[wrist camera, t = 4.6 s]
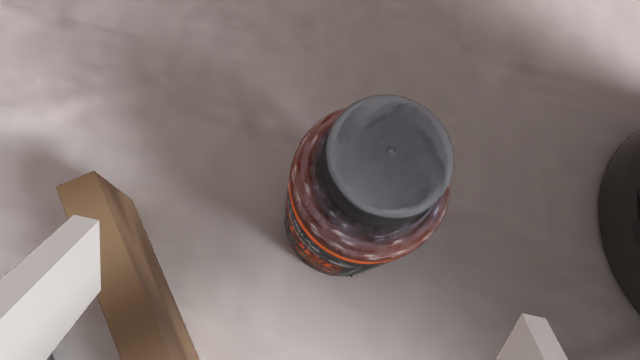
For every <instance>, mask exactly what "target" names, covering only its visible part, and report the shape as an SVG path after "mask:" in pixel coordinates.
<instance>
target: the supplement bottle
mask: <svg viewBox="0 0 640 360" xmlns="http://www.w3.org/2000/svg"><path fill="white" fill-rule="evenodd" d="M453 166H454V159H453V148H452V145H451V142H450V139H449V136H448V134H447V132H446V130H445V128H444V127H443V125H442V124H441V123H440V121H439V120H438V119H437V118H436V117H435V116H434V115H433V114H432V112H430V111H429V110H428V109H427V108H425V107H423V106H421V105H420V104H418V103H416V102H414V101H412V100H410V99H408V98H404V97H398V96H393V95H379V96H378V95H376V96H371V97H367V98H364V99H361V100H359V101H357V102H355V103H353V104H352V105H350V106H349V107H347V108H344V109H341V110H338V111H335V112H334V113H331V114H329V115H328V116H326V117H324V118H323V119H321V120H320V121H319V122H317V123H316V124H315V125H314V126H313V127H312V128H311V129H310V130H309V131H308V132H307V134H306V135H305V136H304V138H303V139H302V141H301V142H300V144H299V147H298V149H297V151H296V153H295V155H294V158H293V161H292V165H291V170H290V177H289V185H288V192H287V201H286V210H285V226H286V232H287V236H288V239H289V241H290V243H291V246H292V247H293V249H294V250H295V252H296V254H297V255H298V256H299V257H300V258H301V259H302V261H303V262H305V263H306V264H307V265H309V266H310V267H312V268H313V269H315V270H317V271H319V272H322V273H325V274H328V275H333V276H351V277H352V275H355V274H359V273H362V272H365V271H368V270H370V269H373V268H375V267H378V266H380V265H383V264H386V263H388V262H391V261H393V260H396V259H398V258H400V257H402V256H405V255H407V254H409V253H411V252H412V251H414V250H415V249H417V248H418V247H419V246H421V245H422V244H423V243H424V242H425V241H427V240H428V239H429V237H430V236H431V235H432V234H433V233H434V232H435V230H436V229H437V227H438V225H439V224H440V222H441V221H442V219H443V216H444V214H445V211H446V208H447V204H448V199H449V194H450V181H451V178H452V173H453Z"/></svg>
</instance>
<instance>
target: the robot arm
mask: <svg viewBox="0 0 640 360" xmlns="http://www.w3.org/2000/svg"><path fill="white" fill-rule="evenodd" d="M599 217H600V227H601V233H602V238H603V242H604V246H605V249H606V253H607V256H608V258H609V261H610V264H611V266H612V268H613V271H614V273H615V275H616V277H617V279H618V281H619V283H620V285H621V286H622V288H623V290H624V291H625V293H626V295H627V296H628V297H629V299H630V300H631V302H632V303H633V305H634V306H635V307H636V309H637V310H638V311H639V312H640V130H639V131H637V132H636V133H634V134H633V135H632V136H630V137H629V138H628V139H627V140H626V141H625V142H624V143H623V144H622V145H621V146H620V147H619V149H618V150H617V151H616V153H615V154H614V156H613V157H612V159H611V161H610V163H609V165H608V167H607V169H606V172H605V175H604V178H603V182H602V186H601V192H600V202H599ZM100 290H101V273H100V230H99V220H96V219H91V218H87V217H82V216H78V215H73V216H72V217H71V218H69V219H68V220H67V221H66V222H65V223H64V224H63V225H62V226H60V227H59V228H58V229H57V230H56V231H55V232H54V233H53V234H51V235H50V236H49V237H48V238H47V239H46V240H45V241H44V242H42V243H41V244H40V245H39V246H38V247H37V248H36V249H35V250H33V251H32V252H31V253H30V254H29V255H28V256H27V257H26V258H24V259H23V260H22V261H21V262H20V263H19V264H18V265H17V266H15V267H14V268H13V269H12V270H11V271H10V272H9V273H8V274H6V275H5V276H4V277H3V278H2V279H1V280H0V360H46V359H47V358H48V357H49V356H50V354H51V353H52V352H53V351H54V349H55V348H56V347H57V345H58V344H59V343H60V342H61V340H62V339H63V338H64V336H65V335H66V334H67V333H68V331H69V330H70V329H71V328H72V326H73V325H74V324H75V322H76V321H77V320H78V319H79V317H80V316H81V315H82V313H83V312H84V311H85V310H86V308H87V307H88V306H89V304H90V303H91V302H92V301H93V299H94V298H95V297H96V296H97V294H98V293H99V292H100ZM495 360H568V358H567V357H566V355H565V353H564V351H563V349H562V347H561V345H560V344H559V342H558V340H557V338H556V336H555V334H554V332H553V331H552V329H551V327H550V325H549V323H548V321H547V319H546V318H542V317H537V316H533V315H528V314H524V313H522V314H521V316H520V318H519V319H518V321H517V323H516V325H515V326H514V328H513V330H512V331H511V333H510V335H509V337H508V338H507V340H506V342H505V344H504V345H503V347H502V349H501V351H500V352H499V354H498V356H497V358H496V359H495Z"/></svg>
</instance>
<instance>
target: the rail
mask: <svg viewBox="0 0 640 360" xmlns="http://www.w3.org/2000/svg"><path fill="white" fill-rule="evenodd" d="M56 189H57V192H58V195H59V197H60V200H61V203H62V205H63V208H64V210H65V213H66V216H67V218H68V219H69V218H71V217H72V216H73V215H78V216H82V217H87V218H91V219H96V220H99V230H100V273H101V290H100V292H99V293H98V294H97V297H98V300H99V302H100V305H101V307H102V310H103V313H104V315H105V318H106V321H107V323H108V326H109V328H110V331H111V334H112V336H113V339H114V342H115V344H116V347H117V349H118V352H119V355H120V357H121V360H199V357H198V355H197V353H196V350H195V348H194V346H193V343H192V341H191V338H190V336H189V334H188V331H187V329H186V327H185V324H184V322H183V320H182V317H181V315H180V312H179V310H178V308H177V305H176V303H175V301H174V298H173V296H172V293H171V291H170V289H169V286H168V284H167V282H166V279H165V277H164V275H163V272H162V270H161V267H160V265H159V263H158V260H157V258H156V256H155V253H154V251H153V248H152V246H151V244H150V241H149V239H148V237H147V234H146V232H145V230H144V227H143V225H142V222H141V220H140V218H139V215H138V213H137V211H136V208H135V206H134V203H133V201H132V200H131V199H130V198H129V197H127V196H126V195H125V194H124V193H122V192H121V191H120V190H118V189H117V188H116V187H114V186H113V185H112V184H110V183H109V182H108V181H107V180H105V179H104V178H103V177H101V176H100V175H99V174H97V173H96V172H95V171H93V172H90V173H88V174H85V175H83V176H81V177H78V178H76V179H73V180H71V181H69V182H66V183H64V184H61V185H59V186H57V187H56Z"/></svg>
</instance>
